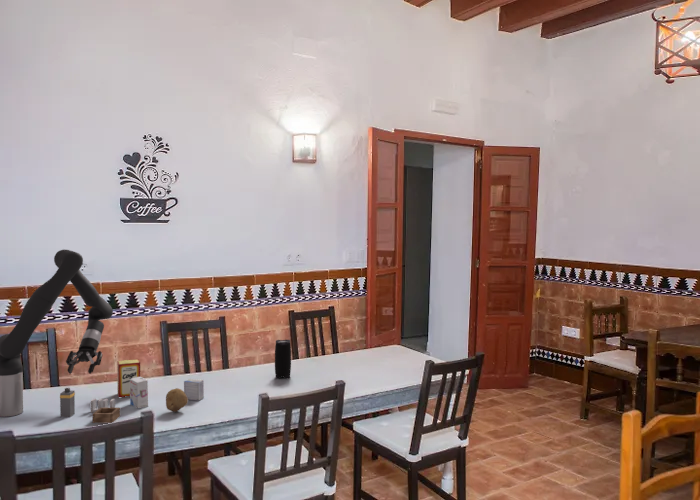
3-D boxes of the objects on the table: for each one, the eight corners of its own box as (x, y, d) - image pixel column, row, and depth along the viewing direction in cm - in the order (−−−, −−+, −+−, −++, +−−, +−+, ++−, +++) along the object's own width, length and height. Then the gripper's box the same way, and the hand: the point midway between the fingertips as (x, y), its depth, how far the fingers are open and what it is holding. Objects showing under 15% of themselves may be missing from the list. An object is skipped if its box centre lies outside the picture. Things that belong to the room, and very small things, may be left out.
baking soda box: (138, 391, 264) (138, 358, 264) (140, 395, 258) (140, 361, 258) (117, 394, 260) (117, 360, 259) (118, 397, 254) (118, 363, 253)
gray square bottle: (60, 417, 227) (59, 389, 227) (64, 413, 232) (64, 386, 231) (70, 417, 228) (70, 389, 227) (75, 413, 232) (74, 386, 231)
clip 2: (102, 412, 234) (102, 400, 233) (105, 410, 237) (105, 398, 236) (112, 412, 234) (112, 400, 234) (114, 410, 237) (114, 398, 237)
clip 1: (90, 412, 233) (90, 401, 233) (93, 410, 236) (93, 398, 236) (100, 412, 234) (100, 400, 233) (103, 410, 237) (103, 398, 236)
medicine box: (204, 398, 255) (204, 379, 254) (198, 401, 250) (198, 382, 250) (189, 396, 257) (189, 378, 256) (183, 399, 252) (183, 380, 252)
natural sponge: (190, 408, 240) (190, 385, 240) (184, 415, 231) (184, 391, 231) (169, 408, 240) (169, 385, 239) (162, 415, 231) (162, 391, 230)
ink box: (129, 404, 245) (129, 378, 244) (140, 402, 248) (140, 376, 248) (137, 408, 239) (137, 381, 238) (148, 406, 242) (148, 379, 242)
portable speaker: (290, 374, 297) (290, 338, 297) (291, 379, 288) (291, 342, 287) (274, 375, 296) (274, 339, 295) (275, 379, 287) (275, 342, 286)
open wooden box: (92, 422, 221) (92, 414, 221) (100, 416, 229) (100, 407, 229) (112, 422, 221) (112, 413, 221) (120, 416, 229) (120, 407, 229)
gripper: (71, 336, 248) (59, 368, 237) (103, 336, 249) (93, 368, 238) (77, 346, 254) (65, 377, 243) (108, 346, 254) (98, 377, 243)
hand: (79, 372), depth 240 cm, fingers open, 8 cm apart
